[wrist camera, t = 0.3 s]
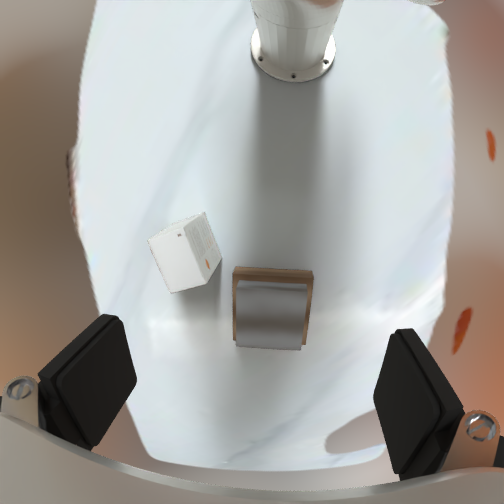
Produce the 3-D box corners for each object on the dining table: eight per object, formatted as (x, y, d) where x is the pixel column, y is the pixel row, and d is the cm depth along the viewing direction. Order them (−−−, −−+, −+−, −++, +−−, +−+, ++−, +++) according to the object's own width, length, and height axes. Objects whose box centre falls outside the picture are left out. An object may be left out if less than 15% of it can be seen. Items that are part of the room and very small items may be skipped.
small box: (174, 222, 45) (145, 239, 35) (205, 210, 44) (183, 225, 34) (192, 267, 47) (169, 295, 37) (223, 258, 46) (206, 285, 36)
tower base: (235, 266, 46) (228, 281, 40) (312, 270, 45) (315, 286, 39) (235, 330, 50) (230, 350, 44) (304, 335, 48) (306, 355, 43)
